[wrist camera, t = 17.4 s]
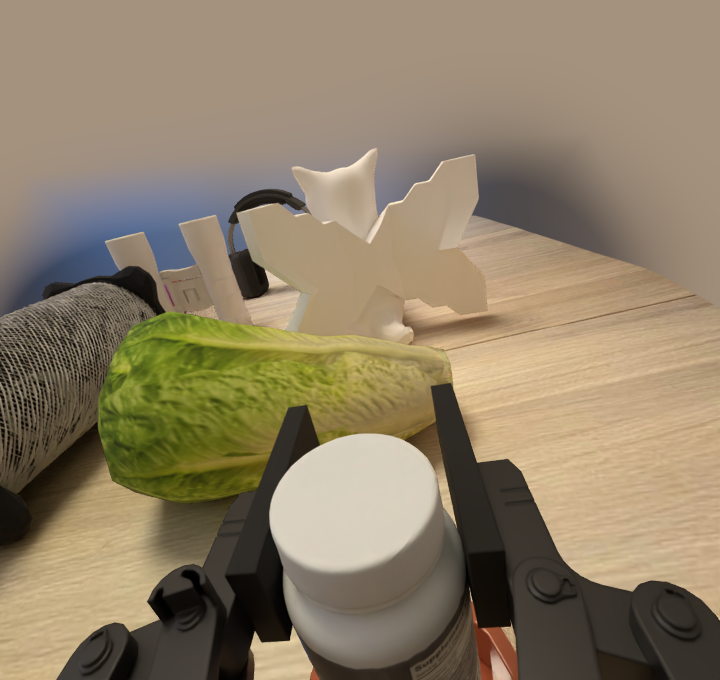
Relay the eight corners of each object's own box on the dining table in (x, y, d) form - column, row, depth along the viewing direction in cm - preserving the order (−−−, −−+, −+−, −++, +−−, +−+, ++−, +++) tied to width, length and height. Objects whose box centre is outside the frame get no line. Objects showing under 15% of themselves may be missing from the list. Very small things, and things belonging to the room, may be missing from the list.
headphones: (237, 301, 80) (201, 204, 72) (250, 291, 85) (218, 200, 77) (334, 285, 74) (307, 178, 66) (342, 276, 80) (318, 176, 72)
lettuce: (429, 400, 38) (474, 534, 25) (187, 415, 37) (108, 559, 25) (437, 265, 31) (504, 355, 18) (141, 281, 31) (-1, 386, 18)
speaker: (-146, 574, 29) (-335, 416, 23) (106, 379, 54) (49, 281, 48) (18, 558, 26) (-142, 379, 20) (200, 363, 52) (153, 259, 46)
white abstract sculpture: (412, 288, 62) (389, 148, 54) (505, 322, 44) (493, 116, 35) (267, 339, 55) (214, 188, 47) (305, 405, 37) (228, 174, 28)
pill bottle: (307, 693, 12) (212, 513, 9) (393, 574, 15) (347, 405, 12) (430, 845, 9) (356, 654, 6) (510, 657, 12) (493, 457, 9)
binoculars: (259, 321, 64) (221, 213, 56) (250, 334, 59) (207, 217, 52) (167, 339, 66) (119, 237, 58) (150, 353, 61) (95, 243, 54)
